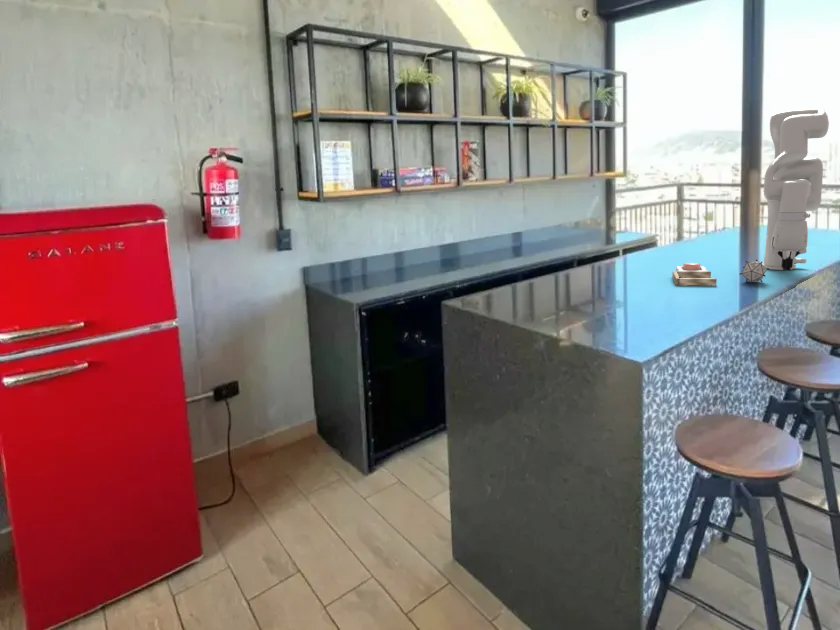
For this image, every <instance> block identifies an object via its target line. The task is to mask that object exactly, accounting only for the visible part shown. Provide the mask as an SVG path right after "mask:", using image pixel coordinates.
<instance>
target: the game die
mask: <svg viewBox="0 0 840 630" xmlns="http://www.w3.org/2000/svg"><path fill="white" fill-rule="evenodd" d="M761 263H764V261H760V262H759V261H758V259H755V261H748V260H745V266H742V268H743V269H742V271H741V272H740V273H739V275H740V276H741V275H742V276H743V277H744V278H745V281H747V282H748V281H749V282H750V284H753V282H759V281H760V282H761V283H763V280H762V279H763V278H764V277H766V274H765V273H766V272H767V270H768V271H769V270H770V269H769V268H767V269H766V268H765V267H764V266H763V265H762V264H761Z"/></svg>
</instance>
